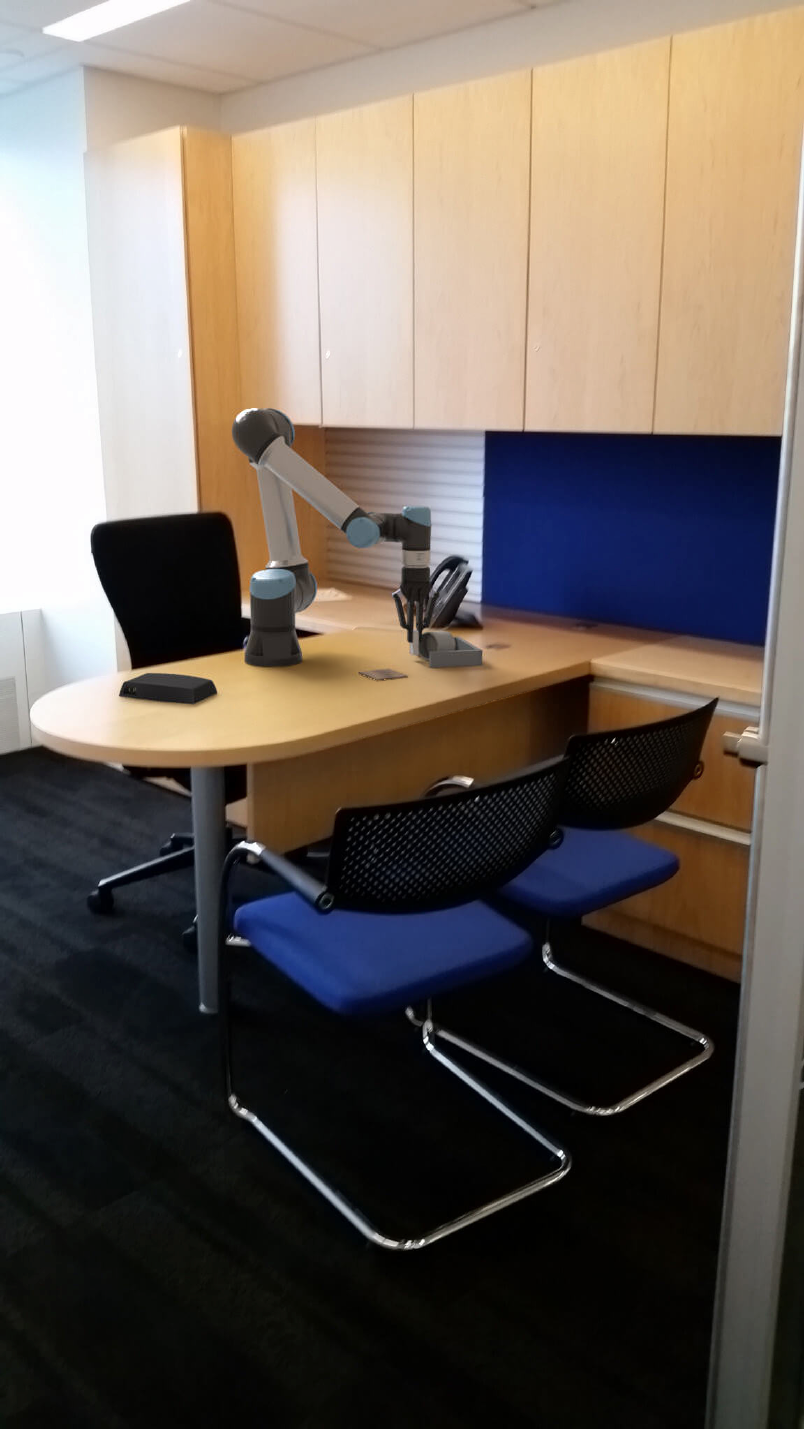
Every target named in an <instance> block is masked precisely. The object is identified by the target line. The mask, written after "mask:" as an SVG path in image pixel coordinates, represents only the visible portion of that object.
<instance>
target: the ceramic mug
mask: <svg viewBox="0 0 804 1429" xmlns="http://www.w3.org/2000/svg"><path fill="white" fill-rule="evenodd" d="M454 637H455V636H454V635H453V634H452V633H450V632H448V631H445V630H438V631H437V630H435V631H425V632H422V641H421V642H418V655H417V656H420V657H421V658H422V659H423V660H425V661H429V652H433V651H454V650H455V646H456V643H455V639H454Z"/></svg>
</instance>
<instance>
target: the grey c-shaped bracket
mask: <svg viewBox="0 0 804 1429" xmlns="http://www.w3.org/2000/svg"><path fill="white" fill-rule="evenodd" d="M453 637H454V639H455V643H456V646H455V650H454V651H433V652H429V660H428V666H429V667H428V668H451V667H453V668H454V667H476V666H479V667H480V666H483V650H482V649H481V648H479V647H477V646H476V645H474V644H472V643H470V642H469V641H467V640H465V639H463V638H462V637H461V636H453Z"/></svg>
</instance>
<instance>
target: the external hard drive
mask: <svg viewBox="0 0 804 1429" xmlns="http://www.w3.org/2000/svg"><path fill="white" fill-rule="evenodd" d="M120 687H121V688H120V691H119V694H118V697H122V698H127V699H128V698H129V699H136V700H143V701H150V702H151V701H152V702H163V703H169V704H170V703H171V704H181V705H183V704H184V705H195V704H197V703H200V702H201V701H203V700H206V699H208V698H210V697H212V696H214V695H217V694H218V693H219V692H218V691H217V690H218V689H217V687H216V685H215V683H214V681H213V680H212V679H208V678H206V677H205V678H204V677H199V676H195V675H194V676H192V675H185V674H178V673H165V672H164V673H163V672H162V673H161V672H160V673H159V672H147V673H144V674H141V675H139V676H137V677H134V678H131V679H128V680H126V681H123V683H122V684H121V686H120Z"/></svg>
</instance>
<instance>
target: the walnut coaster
mask: <svg viewBox="0 0 804 1429" xmlns="http://www.w3.org/2000/svg"><path fill="white" fill-rule="evenodd" d="M359 673H360V674H361V675H360V674H359ZM358 674H359V675H360V676H363V675H365V676H366V678H368V677H370V678H372V679H371V680H373V679H375V680H382V681H385V680H384V679H390V680H395V679H397V678H398V679H404V678H405V677H406V678H408V674H407V675H406V674H404V673H401V672H399V671H396V670H394V669H391V668H382V669H374V670H364V671H358ZM365 676H364V677H365ZM370 678H369V679H370ZM406 678H405V679H406ZM375 680H374V681H375Z"/></svg>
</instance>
